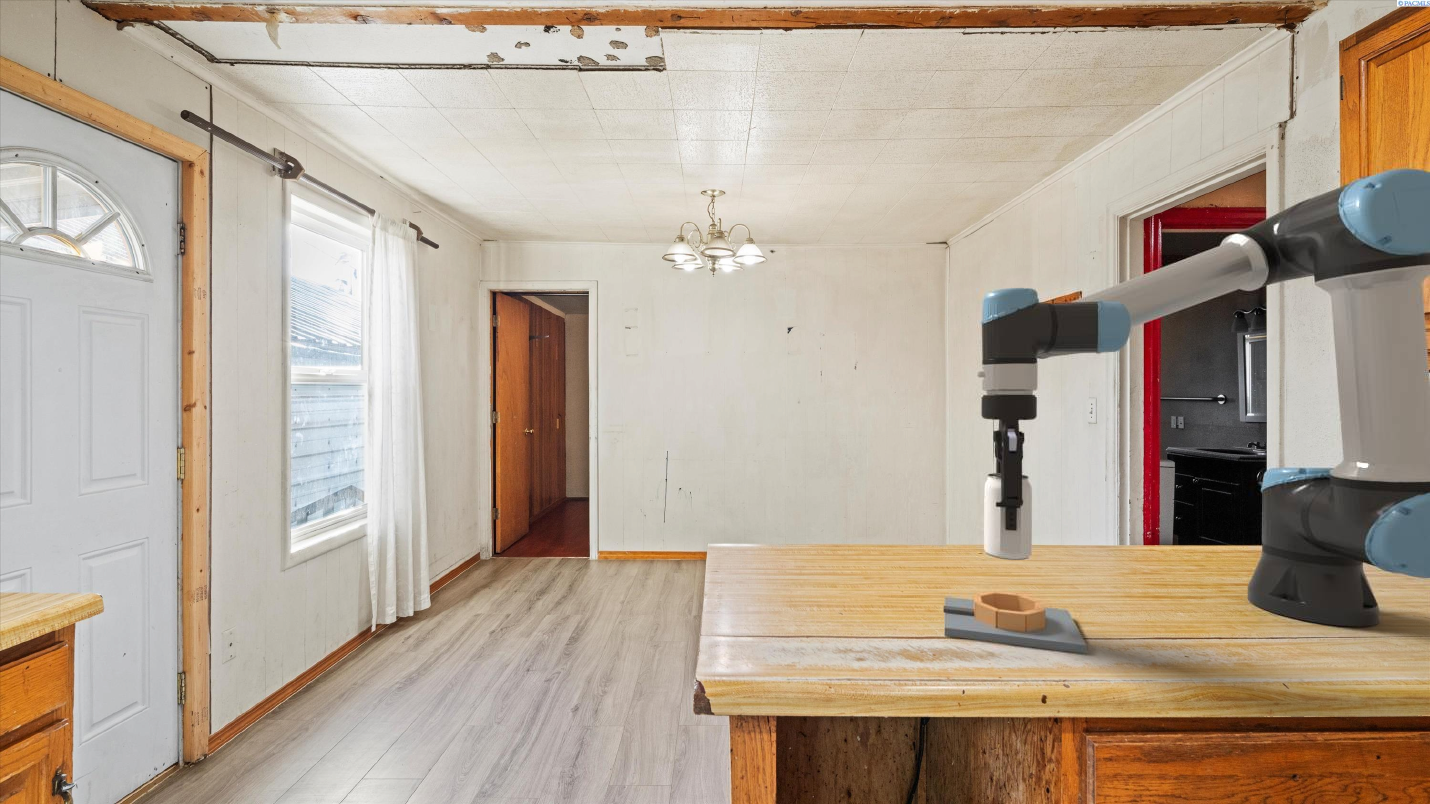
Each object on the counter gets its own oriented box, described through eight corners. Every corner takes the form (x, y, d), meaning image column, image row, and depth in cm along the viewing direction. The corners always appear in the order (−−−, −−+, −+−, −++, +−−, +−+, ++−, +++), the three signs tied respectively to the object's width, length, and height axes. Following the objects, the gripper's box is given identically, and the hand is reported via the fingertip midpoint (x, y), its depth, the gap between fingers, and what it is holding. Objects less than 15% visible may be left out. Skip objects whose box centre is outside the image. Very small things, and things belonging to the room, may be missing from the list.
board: (1067, 617, 95) (1067, 594, 95) (1086, 653, 82) (1086, 626, 82) (943, 603, 102) (943, 581, 102) (943, 635, 89) (943, 610, 89)
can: (1037, 561, 88) (1037, 479, 88) (989, 559, 89) (990, 478, 89) (1024, 550, 94) (1024, 473, 94) (979, 548, 96) (980, 472, 95)
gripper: (978, 392, 102) (977, 529, 102) (985, 393, 84) (984, 559, 84) (1028, 392, 99) (1027, 533, 100) (1046, 393, 81) (1045, 565, 81)
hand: (1007, 545), depth 92 cm, fingers closed on can, 6 cm apart
